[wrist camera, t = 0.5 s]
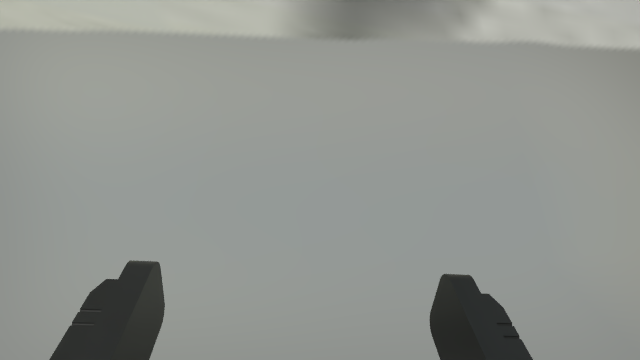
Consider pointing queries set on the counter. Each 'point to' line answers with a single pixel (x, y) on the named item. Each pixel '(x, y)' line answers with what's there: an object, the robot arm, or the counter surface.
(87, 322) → the robot arm
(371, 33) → the counter surface
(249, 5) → the counter surface
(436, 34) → the counter surface
